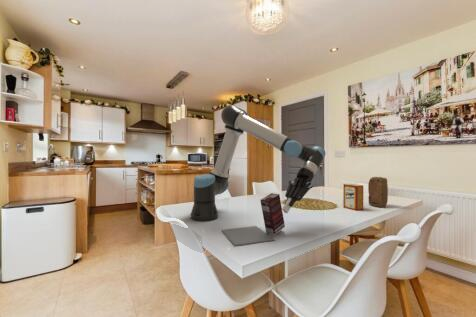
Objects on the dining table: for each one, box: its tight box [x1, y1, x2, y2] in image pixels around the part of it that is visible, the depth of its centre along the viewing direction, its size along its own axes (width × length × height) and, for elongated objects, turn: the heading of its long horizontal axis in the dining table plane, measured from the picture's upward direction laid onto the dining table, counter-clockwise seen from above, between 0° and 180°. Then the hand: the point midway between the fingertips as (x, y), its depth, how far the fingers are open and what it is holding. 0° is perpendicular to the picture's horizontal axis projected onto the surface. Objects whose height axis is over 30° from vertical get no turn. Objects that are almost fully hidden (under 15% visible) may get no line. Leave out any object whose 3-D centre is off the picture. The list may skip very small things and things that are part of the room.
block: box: [367, 176, 389, 208], centre depth 150 cm, size 11×8×20 cm
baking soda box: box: [342, 183, 364, 212], centre depth 142 cm, size 10×6×16 cm
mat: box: [221, 225, 276, 247], centre depth 93 cm, size 18×17×1 cm
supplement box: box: [260, 193, 286, 236], centre depth 96 cm, size 9×5×16 cm, turn 134°
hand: (284, 211), depth 97 cm, fingers closed
